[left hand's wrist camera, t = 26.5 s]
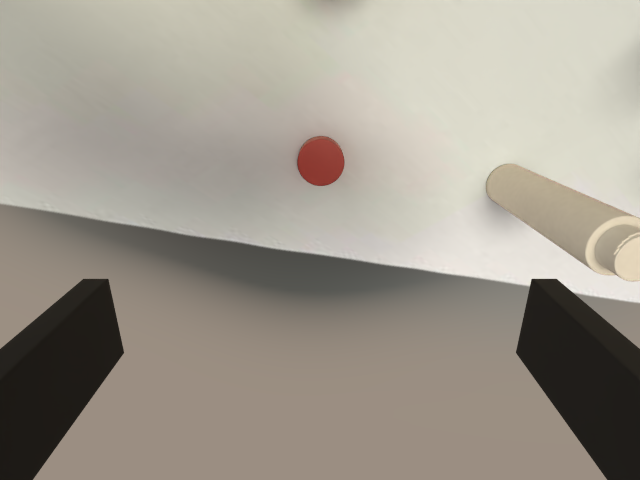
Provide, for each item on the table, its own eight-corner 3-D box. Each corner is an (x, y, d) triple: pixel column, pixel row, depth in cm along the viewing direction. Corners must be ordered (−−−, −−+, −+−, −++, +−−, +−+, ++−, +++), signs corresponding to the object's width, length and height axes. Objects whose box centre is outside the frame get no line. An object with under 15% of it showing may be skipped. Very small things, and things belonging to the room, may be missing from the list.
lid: (294, 140, 39) (293, 143, 37) (339, 132, 39) (340, 135, 37) (303, 184, 41) (302, 189, 39) (346, 176, 40) (347, 181, 38)
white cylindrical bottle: (534, 170, 40) (692, 237, 23) (515, 208, 42) (651, 297, 25) (496, 158, 40) (629, 218, 23) (479, 197, 41) (591, 280, 24)
